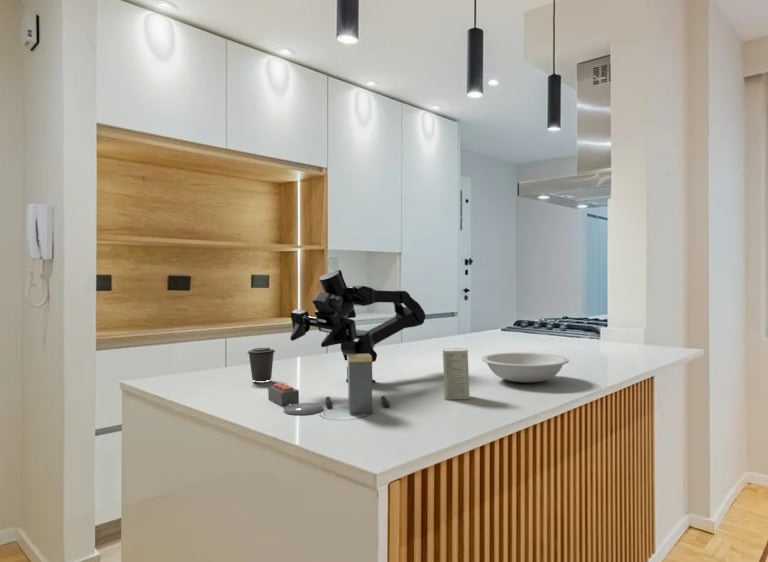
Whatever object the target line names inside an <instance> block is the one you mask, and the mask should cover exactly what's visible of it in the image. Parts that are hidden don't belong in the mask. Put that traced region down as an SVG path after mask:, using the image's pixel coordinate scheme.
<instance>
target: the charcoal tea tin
mask: <svg viewBox="0 0 768 562" xmlns="http://www.w3.org/2000/svg"><path fill="white" fill-rule="evenodd" d="M347 359H348V360H347V367H348V382H347V387H348V388H347V390H348V391H347V394H348V396H347V397H348V398H347V399H348V401H347V402H348V412H349V415H368V414H373V382H372V379H373V362H372V356H371V355H370V354H347Z"/></svg>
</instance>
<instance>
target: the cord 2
mask: <svg viewBox="0 0 768 562" xmlns="http://www.w3.org/2000/svg"><path fill="white" fill-rule="evenodd" d="M380 400H381V402H382V404H383V406H384V407H385V408H390V407H391V404H390V402H389V400H388V398H387V397H386V396H385V395H382V396H381V397H380Z"/></svg>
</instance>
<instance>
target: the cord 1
mask: <svg viewBox="0 0 768 562" xmlns="http://www.w3.org/2000/svg"><path fill="white" fill-rule="evenodd" d="M325 404H326V408H327V409H331V408H332V399H331V397H330V396H326V398H325Z"/></svg>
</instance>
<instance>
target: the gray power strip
mask: <svg viewBox="0 0 768 562" xmlns="http://www.w3.org/2000/svg"><path fill="white" fill-rule="evenodd" d="M267 393H268V394H267V398H269V399H271V400H273V401H274V402H273V401H272V402H273V403H275V402H276V403H275V404H277V403H278V404H277V405H279V404H280V405H279V406H281V405H282V406H281V407H284V406H283V405H286V406H288V405H289V404H296V403H300V394H299V393H300V391H299V390H298V389H296V388H294V387H293V386H291V385H288V384H285V383H284V382H279V383H273V384H272V385H271V386H270V385H269V386H267ZM269 399H268V400H269ZM271 400H270V401H271Z"/></svg>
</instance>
